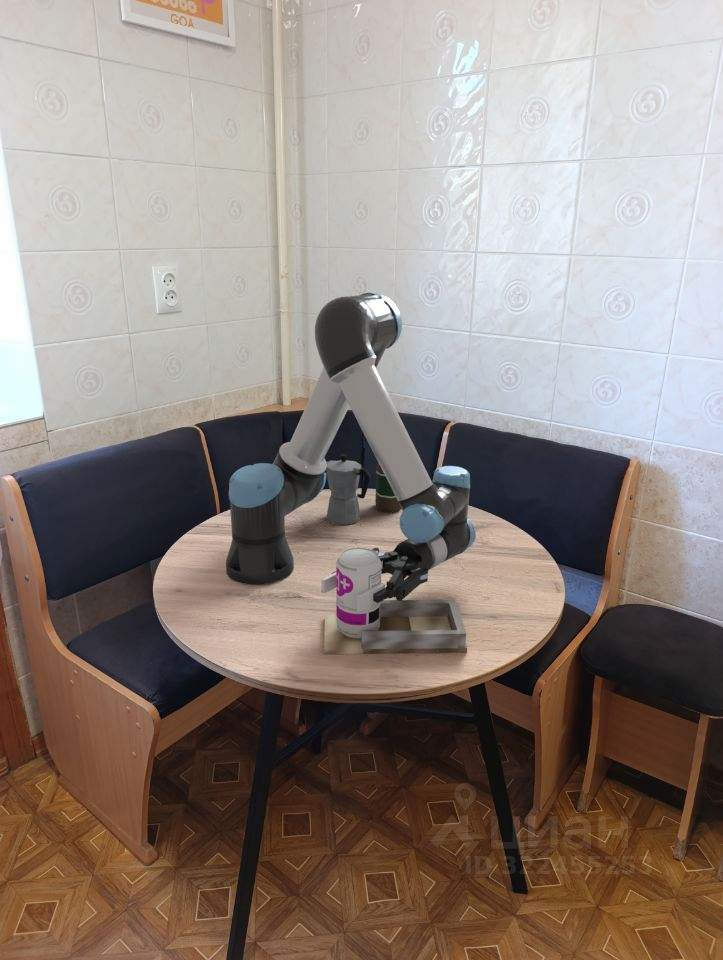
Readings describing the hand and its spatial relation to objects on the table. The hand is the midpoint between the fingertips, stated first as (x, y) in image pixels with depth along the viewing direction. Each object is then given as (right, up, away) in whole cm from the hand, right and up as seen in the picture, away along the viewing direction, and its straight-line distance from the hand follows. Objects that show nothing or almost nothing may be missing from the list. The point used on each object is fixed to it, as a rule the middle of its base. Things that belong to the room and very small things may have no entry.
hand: (340, 594), depth 118 cm
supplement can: (+3, -8, +6) cm, 10 cm away
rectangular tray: (+10, -9, +8) cm, 15 cm away
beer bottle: (+12, +12, +67) cm, 69 cm away
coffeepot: (0, +10, +59) cm, 60 cm away
